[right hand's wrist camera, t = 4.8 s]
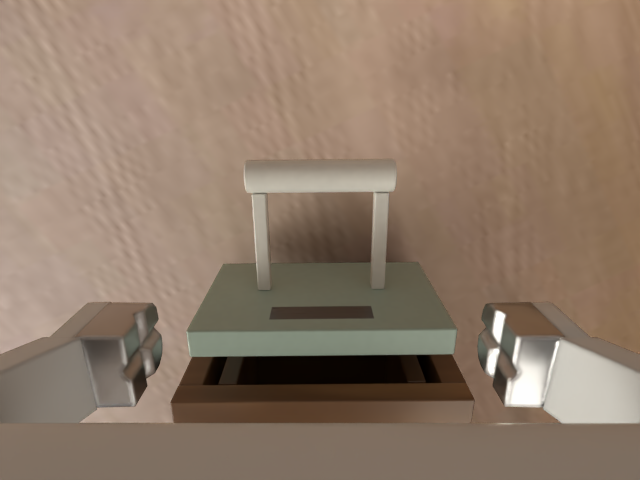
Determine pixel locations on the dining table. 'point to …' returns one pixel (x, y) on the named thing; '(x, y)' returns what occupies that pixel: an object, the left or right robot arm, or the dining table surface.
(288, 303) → the drawer
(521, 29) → the dining table surface
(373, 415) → the cabinet
